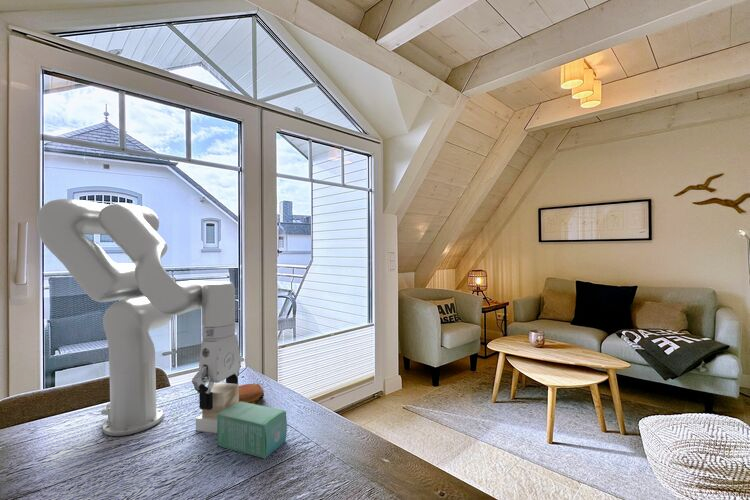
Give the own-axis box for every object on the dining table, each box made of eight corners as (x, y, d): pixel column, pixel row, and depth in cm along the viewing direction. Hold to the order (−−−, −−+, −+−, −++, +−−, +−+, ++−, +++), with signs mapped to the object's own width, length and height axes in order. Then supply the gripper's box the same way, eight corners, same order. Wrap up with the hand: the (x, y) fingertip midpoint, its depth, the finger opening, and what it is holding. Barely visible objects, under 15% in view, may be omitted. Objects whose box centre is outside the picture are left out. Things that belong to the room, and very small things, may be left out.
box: (266, 460, 72) (265, 423, 72) (216, 447, 77) (215, 413, 77) (288, 441, 79) (287, 408, 79) (240, 431, 84) (240, 400, 84)
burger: (220, 410, 94) (220, 393, 94) (237, 396, 104) (236, 380, 104) (256, 412, 94) (255, 394, 93) (269, 397, 103) (269, 381, 103)
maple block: (223, 418, 83) (223, 393, 83) (202, 416, 85) (201, 391, 85) (239, 407, 89) (238, 384, 89) (218, 405, 91) (218, 382, 90)
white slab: (195, 430, 84) (195, 418, 84) (217, 415, 92) (217, 403, 92) (225, 434, 82) (224, 421, 82) (245, 417, 90) (244, 406, 90)
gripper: (208, 341, 78) (209, 418, 78) (252, 324, 94) (253, 387, 94) (179, 339, 79) (180, 415, 79) (227, 323, 96) (228, 385, 96)
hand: (219, 400), depth 87 cm, fingers open, 9 cm apart
